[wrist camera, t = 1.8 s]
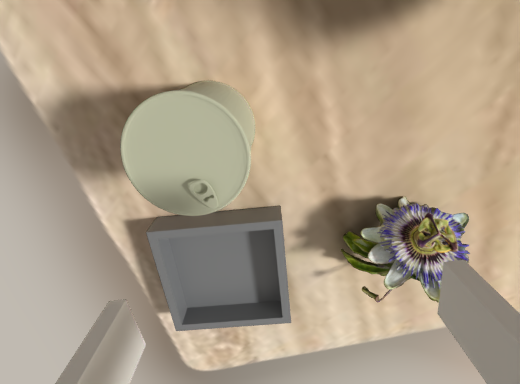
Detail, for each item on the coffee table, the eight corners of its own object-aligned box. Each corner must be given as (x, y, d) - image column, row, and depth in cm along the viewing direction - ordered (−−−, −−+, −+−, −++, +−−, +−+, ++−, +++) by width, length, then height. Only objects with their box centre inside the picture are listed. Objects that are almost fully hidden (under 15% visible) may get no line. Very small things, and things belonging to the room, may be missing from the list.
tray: (156, 217, 35) (146, 232, 32) (280, 205, 35) (282, 220, 31) (182, 310, 41) (176, 331, 38) (288, 302, 40) (291, 322, 37)
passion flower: (382, 186, 39) (488, 192, 29) (391, 259, 42) (492, 289, 31) (321, 212, 34) (425, 232, 24) (336, 295, 36) (436, 345, 26)
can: (197, 181, 33) (165, 238, 22) (150, 107, 30) (86, 131, 19) (269, 146, 32) (273, 189, 21) (228, 63, 28) (207, 62, 17)
